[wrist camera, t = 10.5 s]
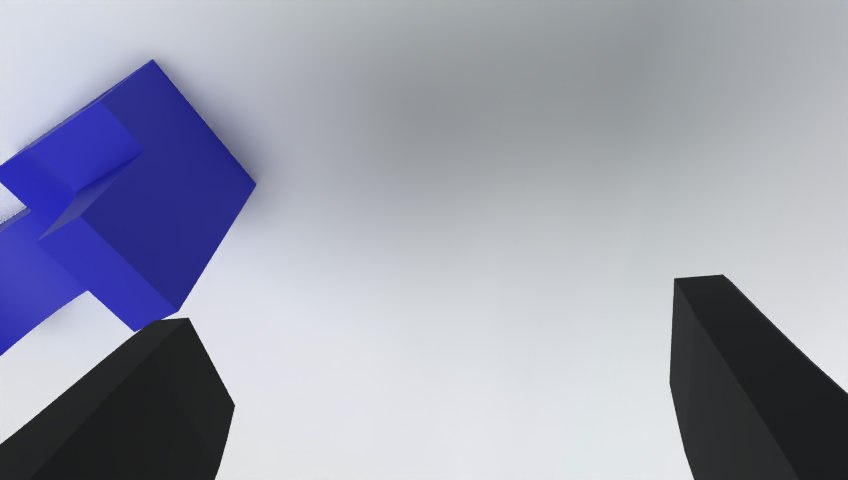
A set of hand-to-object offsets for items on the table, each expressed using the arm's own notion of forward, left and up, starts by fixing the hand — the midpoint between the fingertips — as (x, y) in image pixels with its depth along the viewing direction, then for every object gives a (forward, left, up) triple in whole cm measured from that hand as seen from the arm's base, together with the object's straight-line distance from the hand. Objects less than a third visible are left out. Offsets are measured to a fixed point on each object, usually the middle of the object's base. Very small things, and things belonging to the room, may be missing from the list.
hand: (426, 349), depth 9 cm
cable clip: (+13, +2, -10) cm, 16 cm away
